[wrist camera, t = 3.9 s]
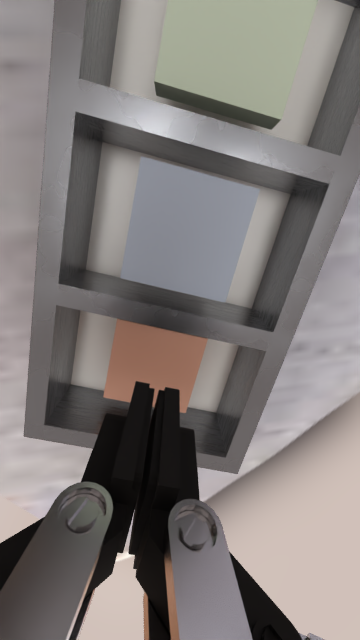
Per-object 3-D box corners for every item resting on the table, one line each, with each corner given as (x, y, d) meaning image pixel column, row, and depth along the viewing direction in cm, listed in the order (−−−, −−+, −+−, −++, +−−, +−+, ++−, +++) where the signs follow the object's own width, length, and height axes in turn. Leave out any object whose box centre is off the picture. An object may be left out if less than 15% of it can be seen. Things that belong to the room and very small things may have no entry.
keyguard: (109, -116, 11) (75, -292, 7) (385, -15, 12) (480, -123, 8) (54, 394, 18) (23, 436, 15) (225, 426, 19) (237, 473, 16)
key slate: (147, 168, 13) (140, 156, 11) (246, 195, 14) (260, 189, 11) (128, 269, 15) (119, 278, 12) (217, 291, 15) (225, 302, 13)
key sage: (184, -41, 11) (187, -111, 9) (303, 0, 11) (335, -56, 9) (158, 107, 12) (153, 81, 10) (262, 138, 13) (281, 119, 11)
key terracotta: (124, 306, 17) (117, 319, 15) (203, 323, 17) (207, 339, 15) (112, 375, 18) (103, 397, 16) (184, 390, 19) (185, 413, 17)
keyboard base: (119, -65, 13) (109, -116, 11) (357, 17, 14) (385, -15, 12) (65, 378, 20) (54, 394, 18) (221, 408, 21) (225, 426, 19)
